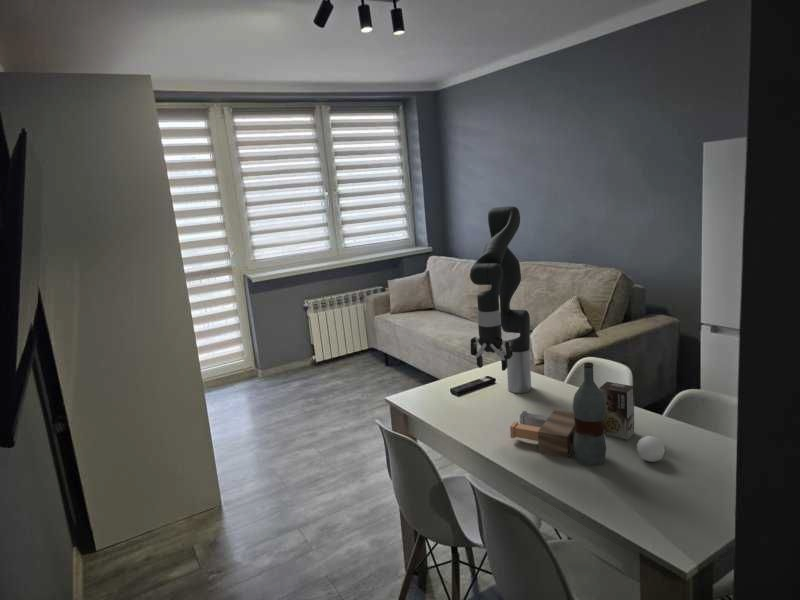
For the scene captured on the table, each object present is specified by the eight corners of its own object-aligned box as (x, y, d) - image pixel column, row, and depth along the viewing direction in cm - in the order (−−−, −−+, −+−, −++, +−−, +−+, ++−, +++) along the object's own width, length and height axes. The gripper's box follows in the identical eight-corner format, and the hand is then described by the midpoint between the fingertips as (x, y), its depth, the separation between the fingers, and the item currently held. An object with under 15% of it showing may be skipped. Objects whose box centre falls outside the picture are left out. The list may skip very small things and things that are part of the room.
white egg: (670, 464, 153) (670, 440, 152) (646, 468, 152) (646, 444, 151) (649, 448, 163) (649, 426, 161) (626, 452, 162) (626, 429, 160)
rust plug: (514, 432, 176) (514, 421, 176) (554, 439, 169) (554, 428, 169) (510, 437, 173) (510, 426, 172) (551, 445, 166) (550, 433, 165)
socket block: (555, 428, 181) (554, 409, 179) (582, 432, 176) (582, 413, 175) (538, 452, 166) (537, 431, 165) (567, 457, 161) (567, 436, 160)
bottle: (592, 470, 153) (590, 371, 147) (567, 458, 161) (564, 364, 155) (613, 459, 158) (612, 363, 152) (587, 448, 166) (586, 356, 160)
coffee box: (635, 432, 173) (635, 385, 170) (627, 440, 169) (627, 392, 165) (607, 426, 179) (606, 380, 176) (599, 433, 175) (598, 387, 172)
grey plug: (524, 421, 184) (523, 410, 183) (562, 428, 177) (562, 416, 176) (520, 426, 180) (519, 415, 180) (559, 433, 173) (558, 421, 173)
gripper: (514, 321, 176) (516, 367, 180) (474, 318, 184) (477, 362, 188) (505, 327, 170) (507, 374, 174) (465, 324, 178) (468, 369, 182)
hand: (492, 368), depth 181 cm, fingers open, 8 cm apart
